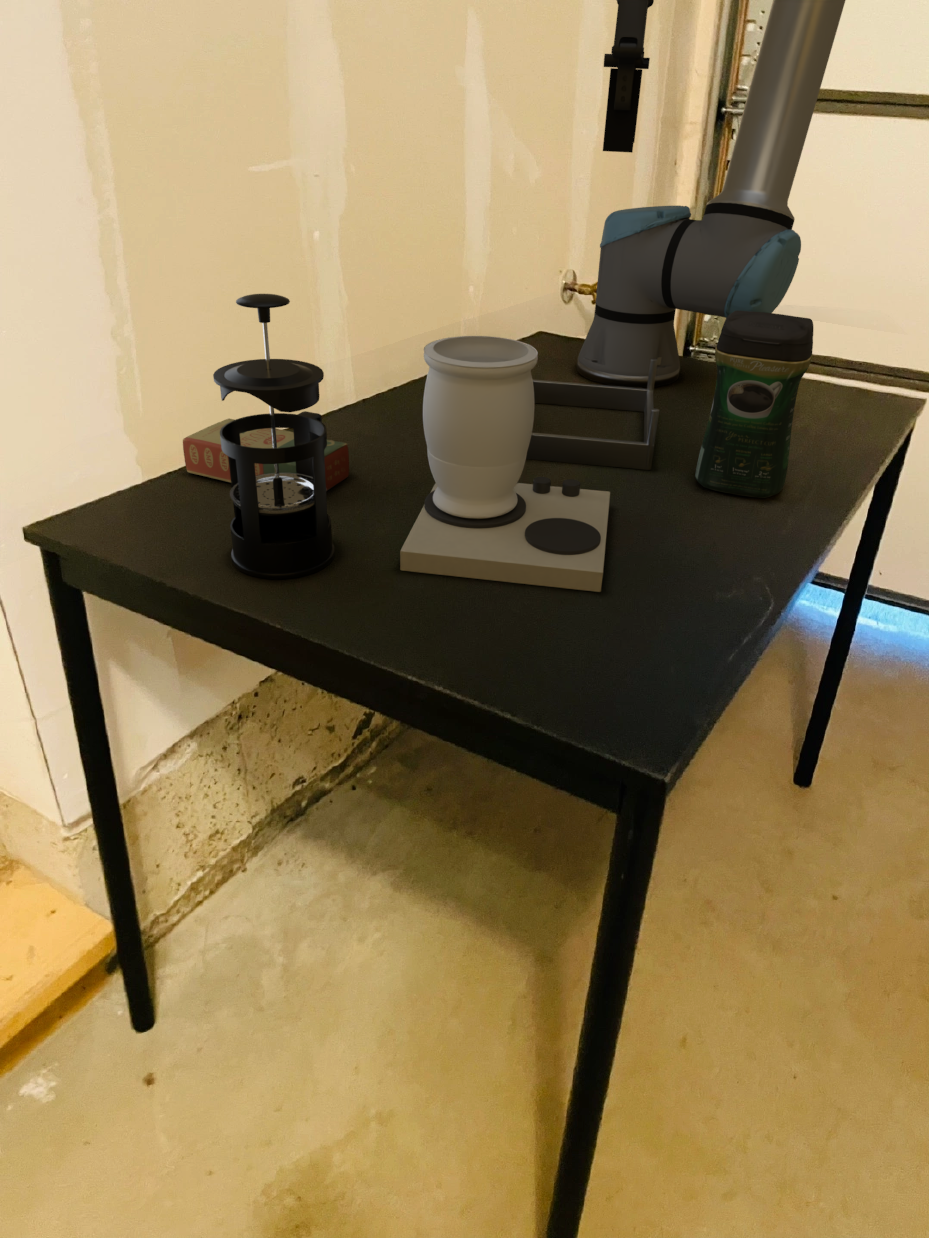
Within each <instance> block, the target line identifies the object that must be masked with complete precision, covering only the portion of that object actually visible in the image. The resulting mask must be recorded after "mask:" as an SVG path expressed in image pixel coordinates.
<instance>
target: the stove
mask: <svg viewBox="0 0 929 1238" xmlns="http://www.w3.org/2000/svg"><path fill="white" fill-rule="evenodd" d="M551 483H552V480H551V479H550V478H549V477H546V476H535V477H534V478H533V480H532V483H531V484H530V483H522V482H517V484H516V486H515V487H514V488H513V489H514V491H515V493H516V495H517V499H518V501H517V505H516V506H515V508H514V509H513V510H511V511H510V512H508V513H506V514H504V515H501V516H497V517H492V518H483V519H471V518H462V517H458V516H454V515H451V514H448V513H446V512H443V511H442V510H440V509H439V508H438V507H437V506H436V505H435V504H434V502H433V494H434V492H435V490H436V488H437V487H438V486H437V484H436V482H435V483H434V484H433V486H432V489H431V490H430V493H428V494H427V495H426V497H425V498H424V502H423V503H424V504H423V506H422V508H421V510H420V512H419V514H418V516H417V517H416V519H415V522H414V523H413V526H412V527H411V529H410V531H409V533H408V535H407V537H406V539H405V541H404V543H403V545H402V547H401V549H400V551H399V563H400V564H399V566H400V567H399V570H400V571H403V572H411V573H421V574H430V575H440V576H448V577H458V578H465V579H466V578H468V579H476V580H477V579H478V580H485V581H495V582H502V583H503V582H504V583H513V584H520V585H521V584H523V585H524V584H525V585H529V586H530V585H532V586H540V587H550V588H557V589H559V588H560V589H567V590H576V591H577V590H578V591H585V592H595V593H601V592H602V585H603V578H604V568H605V567H604V566H605V556H606V555H605V554H606V546H607V545H606V543H607V536H608V535H607V532H608V523H609V522H608V521H609V511H610V499H611V491H606V490H596V489H585V488H581V482H580V481H579V480H578V479H572V478H569V479H564V480H563V481H562V486H553V485H551Z"/></svg>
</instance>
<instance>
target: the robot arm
mask: <svg viewBox="0 0 929 1238" xmlns="http://www.w3.org/2000/svg"><path fill="white" fill-rule="evenodd" d="M654 1H655V0H616V4H617V11H616V12H617V13H616V21H615V31H614V40H613V45H612V46H611V53H604V57H603V68H610V71H609V72H610V73H609V81H608V82H609V83H608V91H607V100H606V111H605V122H604V131H603V132H604V134H603V142H602V152H613V153H631V154H632V153H634V152H633V151H634V143H635V139H636V131H637V123H638V113H639V105H640V96H641V86H642V77H643V70H649V68H650V61H651V60H650V59H651V57H645V47H644V46H645V45H644V44H645V36H646V28H647V18H648V11H649V10H648V9H649V8H650V7H652V6H653V5H654ZM845 4H846V0H772V4H771V7H770V11H769V14H768V18H767V21H766V26H765V29H764V32H763V36H762V41H761V44H760V48H759V52H758V56H757V59H756V62H755V66H754V71H753V74H752V78H751V81H750V85H749V88H748V93H747V96H746V100H745V104H744V107H743V111H742V115H741V119H740V123H739V126H738V131H737V134H736V137H735V141H734V145H733V149H732V153H731V156H730V160H729V163H728V168H727V171H726V175H725V179H724V182H723V186H722V189H721V191H720V193H719V194H718V195H716V196H715V197H712V198H711V199H710V200H709V201H707V202H706V206H705V209H704V213H703V216H702V219H691V217H692V213H691V208H690V207H689V206H687V205H656V206H641V207H632V208H625V209H618V210H614V211H612V212H610V214H608V216H607V217H606V219H605V220H604V223H603V230H602V235H601V241H600V244H599V248H600V253H599V263H598V273H597V283H596V293H595V306H594V317H593V320H592V322H591V324H590V327H589V329H588V332H587V334H586V336H585V339H584V342H583V344H582V345H581V349H580V350H579V354H578V356H577V363H576V371H577V373H578V374H579V375H580V376H582V377H583V378H586V379H588V380H590V381H593V382H597V383H601V384H603V385H609V386H621V387H634V388H647V384H648V376H649V369H650V361H651V359H658V362H657V369H656V376H655V383H654V388H655V387H660V386H666V385H669V384H672V383H674V382H676V381H677V380H678V379H679V376H680V369H681V360H680V355H679V347H678V343H677V336H676V330H675V318H676V310H680V311H687V312H691V313H697V314H704V315H709V316H715V317H719V318H725V319H726V318H727V317H728V316H729V315H730V314H731V313H732V312H734V311H737V310H738V311H752V312H765V313H774V311H775V310H776V309H777V308H778V307H779V306H780V304H781V302H782V301H783V300H784V298H785V296H786V294H787V292H788V290H789V288H790V287H791V284H792V282H793V279H794V277H795V274H796V272H797V268H798V266H799V261H800V258H799V256H800V254H801V250H802V240H801V236H800V235H799V234H798V232H796V231H795V230H793V226H794V224H795V216H794V215H793V213H792V211H791V209H790V208H789V206H788V204H789V203H788V202H789V198H790V196H791V195H790V194H791V191H792V188H793V184H794V181H795V178H796V174H797V172H798V171H797V170H798V167H799V165H800V160H801V157H802V153H803V149H804V146H805V143H806V140H807V136H808V132H809V129H810V125H811V122H812V120H813V119H812V118H813V115H814V112H815V108H816V105H817V101H818V97H819V93H820V91H821V88H822V87H821V86H822V84H823V81H824V77H825V74H826V70H827V67H828V62H829V59H830V56H831V52H832V48H833V46H834V42H835V39H836V35H837V32H838V31H837V30H838V27H839V24H840V21H841V18H842V13H843V11H844V7H845Z"/></svg>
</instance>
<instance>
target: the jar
mask: <svg viewBox="0 0 929 1238" xmlns="http://www.w3.org/2000/svg"><path fill="white" fill-rule="evenodd" d="M538 354H539V353H538V350H537V349H536V348H535V347H534V346H533V345H531V344H529V343H526V342H524V341H520V340H518V339H517V340H516V339H513V338H507V337H499V336H490V335H488V336H487V335H461V336H451V337H445V338H440V339H439V338H438V339H436V340H433V341H431V342H428V343H427V344H426V345H425V346H424V347H423V359H424V362H425V364H426V365H427V366H428V367H429V369H428V371H427V375H426V379H425V384H424V390H423V398H422V399H423V400H422V424H423V434H424V438H425V439H424V440H425V444H426V452H427V460H428V465H429V469H430V472H431V475H432V478H433V480H434V482H435V483H436V484H437V486H438V487H437V488H436V490H435V492H434V494H433V502H434V504H435V505H436V506H437V507H438V508H439V509H440V510H442V511H443V512H446V513H448V514H451V515H454V516H458V517H462V518H471V519H483V518H492V517H497V516H501V515H504V514H506V513H508V512H510V511H511V510H513V509H514V508H515V506H516V505H517V501H518V499H517V495H516V493H515V491H514V489H513V488H514V487H515V486H516V484H517V483H519V480H520V479H521V476H522V474H523V471H524V468H525V465H526V460H527V459H526V455H527V450H528V447H529V443H530V439H531V434H532V433H533V429H534V422H535V403H534V386H533V380H534V379H533V375H532V370H533V369H534V368H535V367H536V365H537V364H538V358H539V357H538ZM532 379H533V380H532Z"/></svg>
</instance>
